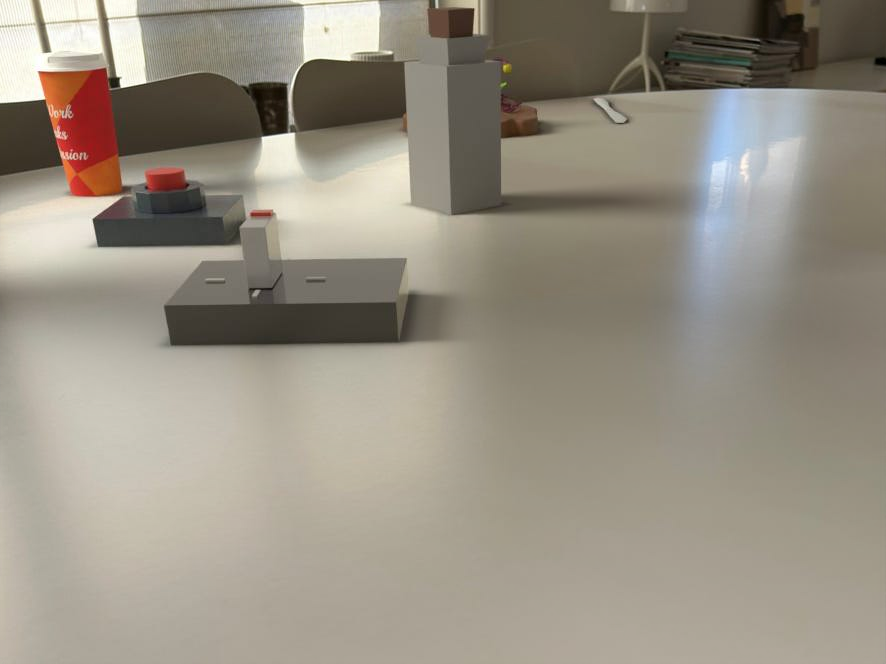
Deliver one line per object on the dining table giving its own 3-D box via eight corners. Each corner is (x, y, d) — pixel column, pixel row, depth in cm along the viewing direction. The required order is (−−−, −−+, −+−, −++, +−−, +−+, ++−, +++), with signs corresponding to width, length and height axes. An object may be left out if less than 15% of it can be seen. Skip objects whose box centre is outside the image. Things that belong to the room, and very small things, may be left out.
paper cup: (57, 191, 122) (26, 52, 114) (124, 184, 125) (99, 48, 117) (68, 203, 116) (36, 58, 108) (139, 196, 119) (113, 54, 111)
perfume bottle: (411, 206, 112) (401, 9, 102) (460, 197, 116) (456, 5, 106) (451, 217, 108) (445, 11, 98) (501, 207, 111) (500, 7, 101)
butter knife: (610, 97, 179) (592, 96, 179) (631, 122, 156) (611, 122, 156) (609, 100, 179) (592, 100, 179) (631, 127, 157) (611, 126, 157)
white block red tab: (272, 288, 76) (264, 223, 73) (247, 288, 76) (238, 223, 73) (282, 271, 79) (275, 208, 77) (259, 271, 79) (251, 209, 77)
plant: (411, 120, 164) (407, 37, 158) (537, 118, 164) (538, 35, 157) (397, 141, 148) (392, 49, 141) (537, 140, 147) (539, 47, 141)
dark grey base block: (171, 348, 74) (163, 303, 73) (208, 299, 84) (201, 258, 83) (398, 345, 74) (395, 299, 72) (408, 296, 84) (406, 255, 82)
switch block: (98, 249, 99) (87, 198, 96) (128, 224, 107) (119, 177, 104) (226, 247, 98) (219, 195, 96) (246, 223, 107) (240, 175, 104)
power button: (143, 194, 99) (140, 174, 98) (153, 187, 102) (150, 167, 101) (182, 194, 99) (179, 173, 98) (191, 186, 102) (188, 166, 101)
